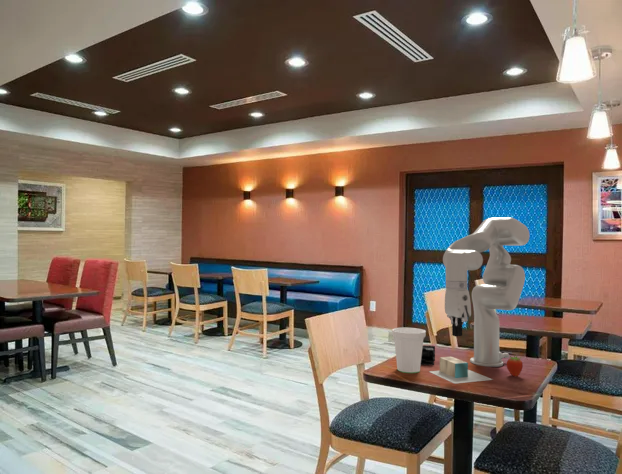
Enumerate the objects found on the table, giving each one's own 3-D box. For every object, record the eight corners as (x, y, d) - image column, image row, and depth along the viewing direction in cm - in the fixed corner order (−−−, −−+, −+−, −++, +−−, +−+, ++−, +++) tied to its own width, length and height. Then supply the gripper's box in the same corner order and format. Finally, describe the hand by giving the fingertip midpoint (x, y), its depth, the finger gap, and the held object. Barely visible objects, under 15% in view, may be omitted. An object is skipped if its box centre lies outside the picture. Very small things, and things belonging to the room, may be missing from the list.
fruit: (512, 379, 171) (512, 356, 171) (503, 375, 176) (503, 353, 176) (525, 378, 172) (526, 355, 172) (516, 374, 177) (516, 352, 177)
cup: (388, 373, 177) (388, 331, 177) (395, 365, 189) (395, 326, 189) (423, 377, 172) (423, 334, 173) (427, 368, 184) (428, 328, 184)
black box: (434, 361, 196) (434, 344, 196) (435, 365, 189) (435, 348, 189) (409, 359, 198) (409, 343, 198) (409, 364, 191) (409, 347, 191)
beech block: (467, 376, 172) (451, 369, 181) (467, 362, 172) (451, 356, 181) (455, 378, 170) (439, 370, 180) (456, 363, 170) (439, 357, 180)
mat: (464, 369, 184) (464, 368, 184) (493, 380, 169) (493, 379, 169) (428, 372, 179) (428, 371, 179) (454, 384, 163) (454, 383, 163)
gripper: (478, 287, 169) (479, 339, 169) (452, 282, 183) (453, 330, 183) (460, 288, 166) (461, 341, 167) (435, 283, 181) (436, 332, 181)
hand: (457, 335), depth 175 cm, fingers closed
